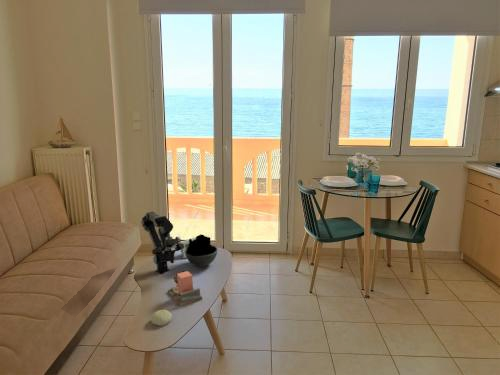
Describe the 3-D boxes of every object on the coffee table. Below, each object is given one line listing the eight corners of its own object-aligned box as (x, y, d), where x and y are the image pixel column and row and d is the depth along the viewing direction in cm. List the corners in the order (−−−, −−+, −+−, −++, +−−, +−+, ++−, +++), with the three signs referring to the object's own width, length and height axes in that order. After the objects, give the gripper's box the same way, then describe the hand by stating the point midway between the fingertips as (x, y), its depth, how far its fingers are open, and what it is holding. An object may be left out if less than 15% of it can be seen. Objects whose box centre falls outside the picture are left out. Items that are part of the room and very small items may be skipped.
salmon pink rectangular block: (178, 293, 201) (176, 273, 199) (189, 289, 204) (187, 271, 202) (182, 297, 196) (181, 278, 194) (193, 294, 199) (192, 275, 197)
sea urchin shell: (176, 317, 178) (164, 311, 174) (166, 332, 177) (153, 326, 172) (168, 309, 186) (156, 302, 181) (158, 323, 184) (146, 317, 179)
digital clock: (182, 259, 248) (181, 244, 245) (177, 255, 255) (176, 240, 253) (205, 253, 256) (204, 239, 254) (199, 249, 263) (198, 235, 261)
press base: (168, 291, 207) (167, 281, 205) (188, 285, 213) (188, 275, 211) (180, 306, 192) (179, 295, 190) (202, 299, 198) (201, 289, 196)
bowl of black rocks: (218, 257, 249) (217, 230, 244) (217, 271, 229) (215, 242, 225) (188, 259, 248) (186, 231, 244) (184, 272, 229) (181, 243, 224)
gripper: (159, 233, 206) (167, 260, 202) (186, 230, 220) (193, 256, 216) (148, 240, 213) (155, 267, 208) (175, 237, 227) (182, 262, 222)
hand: (172, 263), depth 213 cm, fingers closed
